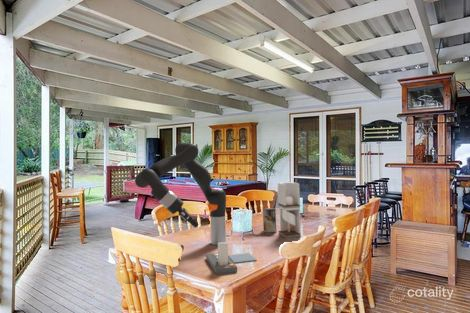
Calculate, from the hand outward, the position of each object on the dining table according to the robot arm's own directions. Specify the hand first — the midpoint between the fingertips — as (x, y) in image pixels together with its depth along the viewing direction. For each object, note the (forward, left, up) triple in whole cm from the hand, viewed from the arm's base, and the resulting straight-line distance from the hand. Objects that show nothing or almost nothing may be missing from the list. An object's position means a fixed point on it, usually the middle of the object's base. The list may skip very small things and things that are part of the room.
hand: (195, 224), depth 155 cm
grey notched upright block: (-44, +70, -22) cm, 86 cm away
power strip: (-4, +12, -22) cm, 26 cm away
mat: (-8, +25, -22) cm, 35 cm away
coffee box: (-59, +62, -22) cm, 89 cm away
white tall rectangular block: (+3, +12, -22) cm, 25 cm away
